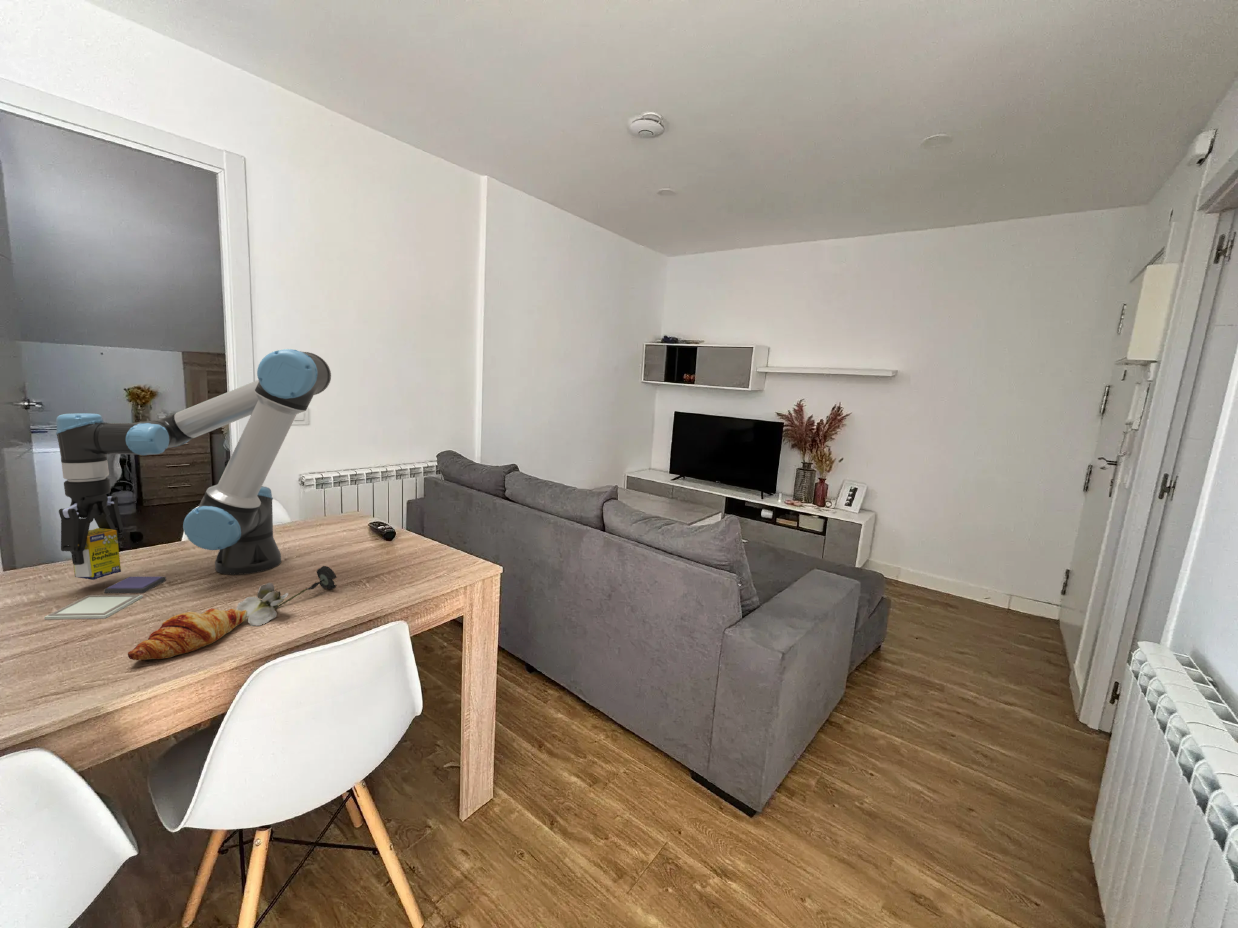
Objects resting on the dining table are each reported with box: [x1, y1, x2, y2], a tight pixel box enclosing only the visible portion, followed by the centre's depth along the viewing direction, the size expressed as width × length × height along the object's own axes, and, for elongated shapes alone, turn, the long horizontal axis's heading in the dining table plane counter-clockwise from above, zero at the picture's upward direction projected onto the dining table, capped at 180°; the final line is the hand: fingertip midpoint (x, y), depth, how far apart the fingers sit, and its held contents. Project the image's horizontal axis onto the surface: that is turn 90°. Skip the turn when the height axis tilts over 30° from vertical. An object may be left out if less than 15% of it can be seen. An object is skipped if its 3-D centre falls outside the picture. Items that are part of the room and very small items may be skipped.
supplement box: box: [73, 527, 122, 581], centre depth 121 cm, size 6×6×11 cm
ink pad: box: [103, 576, 167, 594], centre depth 124 cm, size 8×8×1 cm
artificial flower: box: [235, 565, 338, 627], centre depth 120 cm, size 9×22×10 cm, turn 159°
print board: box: [44, 594, 144, 620], centre depth 113 cm, size 11×11×1 cm
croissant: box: [127, 607, 248, 661], centre depth 101 cm, size 21×10×8 cm, turn 163°
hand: (98, 569), depth 122 cm, fingers closed on supplement box, 8 cm apart
